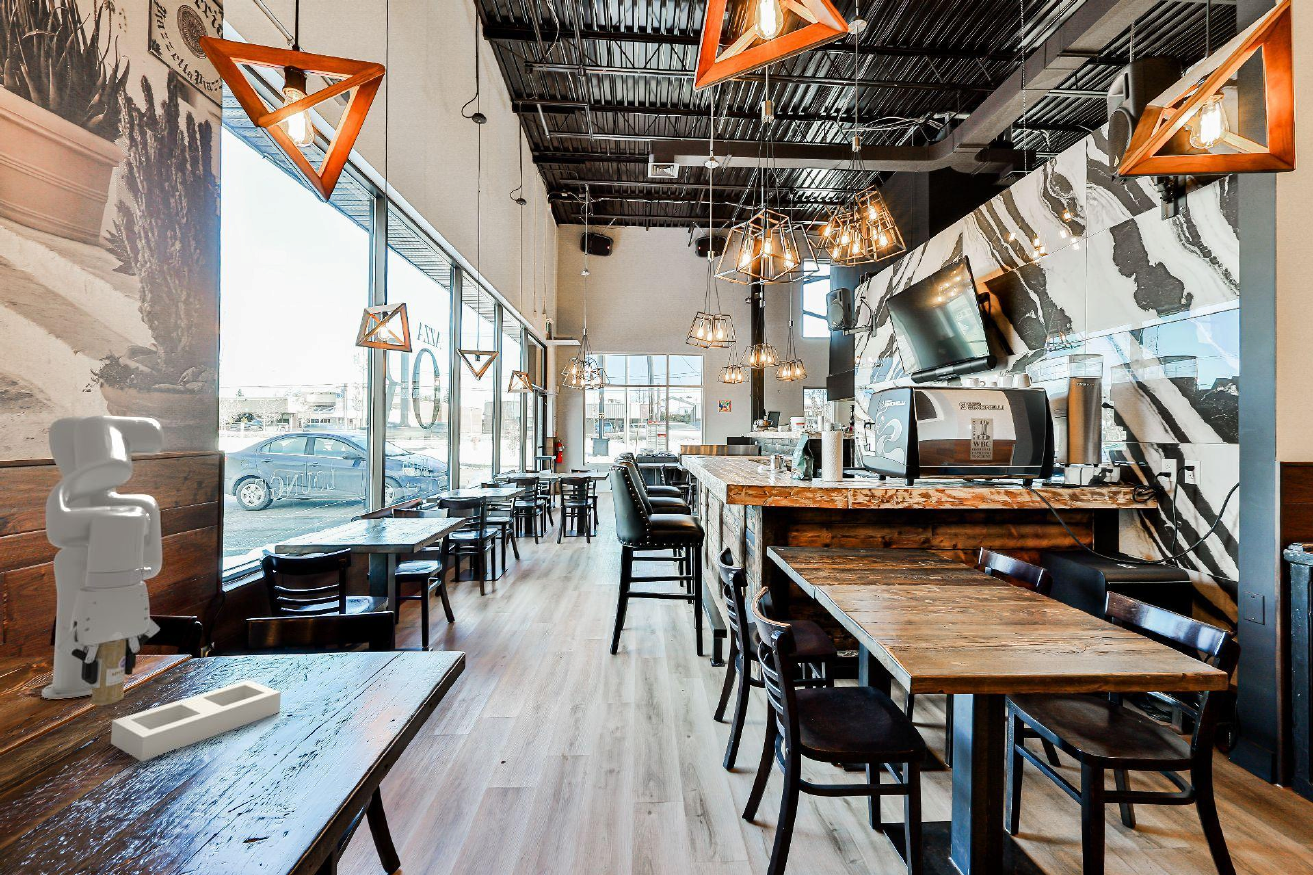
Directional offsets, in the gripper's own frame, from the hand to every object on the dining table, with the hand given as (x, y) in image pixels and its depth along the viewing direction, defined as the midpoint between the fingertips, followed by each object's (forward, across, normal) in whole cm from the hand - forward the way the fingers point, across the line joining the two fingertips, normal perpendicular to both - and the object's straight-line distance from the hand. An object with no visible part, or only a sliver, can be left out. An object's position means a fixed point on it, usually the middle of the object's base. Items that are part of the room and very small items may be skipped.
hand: (108, 676), depth 107 cm
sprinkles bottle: (+5, 0, 0) cm, 5 cm away
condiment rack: (+10, -10, +12) cm, 18 cm away
